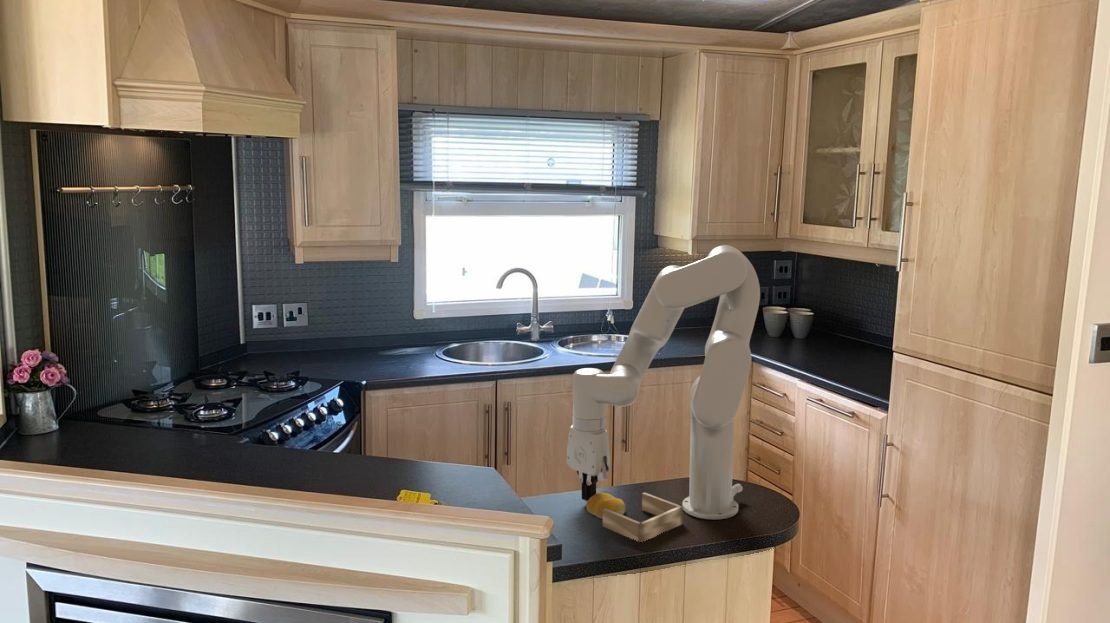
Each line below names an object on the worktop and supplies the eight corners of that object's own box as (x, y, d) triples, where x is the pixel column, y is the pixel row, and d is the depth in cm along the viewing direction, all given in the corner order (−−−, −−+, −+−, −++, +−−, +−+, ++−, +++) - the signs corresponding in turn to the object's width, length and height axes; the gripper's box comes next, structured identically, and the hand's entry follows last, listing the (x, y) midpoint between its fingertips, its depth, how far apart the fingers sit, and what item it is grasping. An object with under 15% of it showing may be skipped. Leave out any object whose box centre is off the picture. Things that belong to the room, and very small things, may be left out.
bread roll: (606, 523, 190) (606, 506, 190) (580, 511, 197) (580, 494, 196) (634, 513, 195) (634, 496, 195) (607, 501, 202) (607, 485, 202)
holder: (644, 508, 197) (644, 492, 197) (682, 523, 189) (683, 506, 189) (602, 526, 188) (602, 509, 188) (641, 543, 180) (641, 525, 180)
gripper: (555, 418, 200) (555, 493, 204) (600, 434, 189) (600, 513, 193) (578, 412, 205) (578, 485, 208) (624, 426, 194) (623, 503, 198)
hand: (588, 498), depth 201 cm, fingers closed
